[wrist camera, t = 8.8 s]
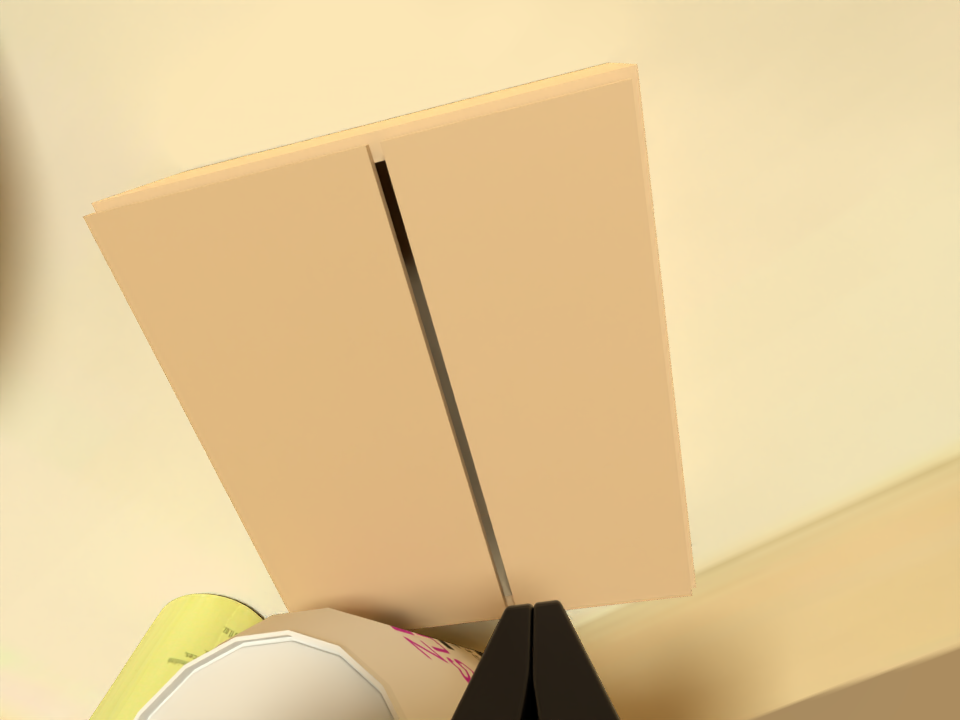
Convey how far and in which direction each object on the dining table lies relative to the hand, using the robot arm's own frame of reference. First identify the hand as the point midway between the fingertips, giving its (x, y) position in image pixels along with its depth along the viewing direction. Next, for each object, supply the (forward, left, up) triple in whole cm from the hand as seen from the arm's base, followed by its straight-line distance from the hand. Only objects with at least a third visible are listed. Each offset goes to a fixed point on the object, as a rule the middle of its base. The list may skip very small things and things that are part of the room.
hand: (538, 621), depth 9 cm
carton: (+3, 0, -11) cm, 11 cm away
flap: (-1, 0, -6) cm, 6 cm away
